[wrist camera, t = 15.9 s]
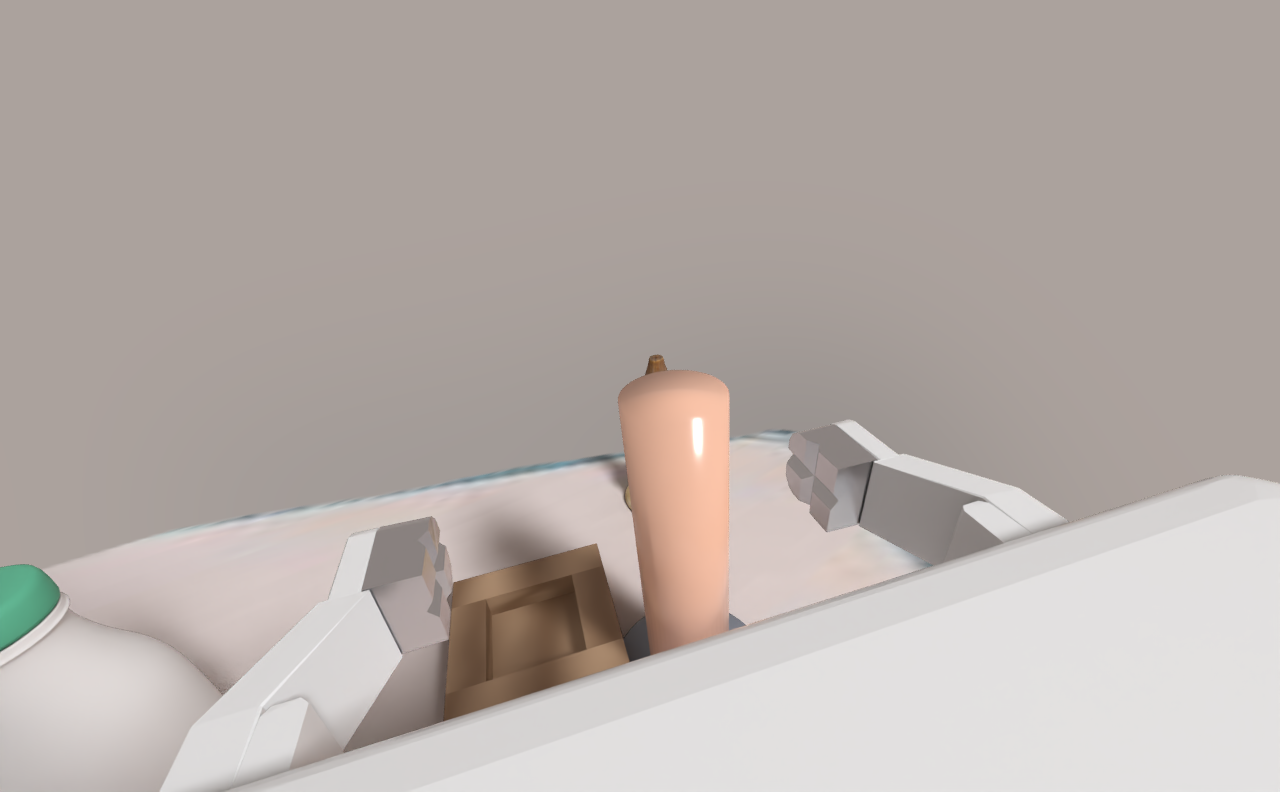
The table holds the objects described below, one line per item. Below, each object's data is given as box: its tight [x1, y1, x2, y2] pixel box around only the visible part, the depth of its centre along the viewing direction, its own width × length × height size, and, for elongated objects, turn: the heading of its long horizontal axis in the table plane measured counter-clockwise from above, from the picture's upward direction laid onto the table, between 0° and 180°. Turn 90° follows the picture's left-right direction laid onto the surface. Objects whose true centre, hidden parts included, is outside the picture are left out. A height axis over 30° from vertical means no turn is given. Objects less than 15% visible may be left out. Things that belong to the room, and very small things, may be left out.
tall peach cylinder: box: [618, 370, 729, 656], centre depth 28 cm, size 5×5×22 cm
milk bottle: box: [0, 564, 223, 792], centre depth 24 cm, size 8×8×20 cm
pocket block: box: [443, 543, 629, 722], centre depth 36 cm, size 12×12×3 cm
